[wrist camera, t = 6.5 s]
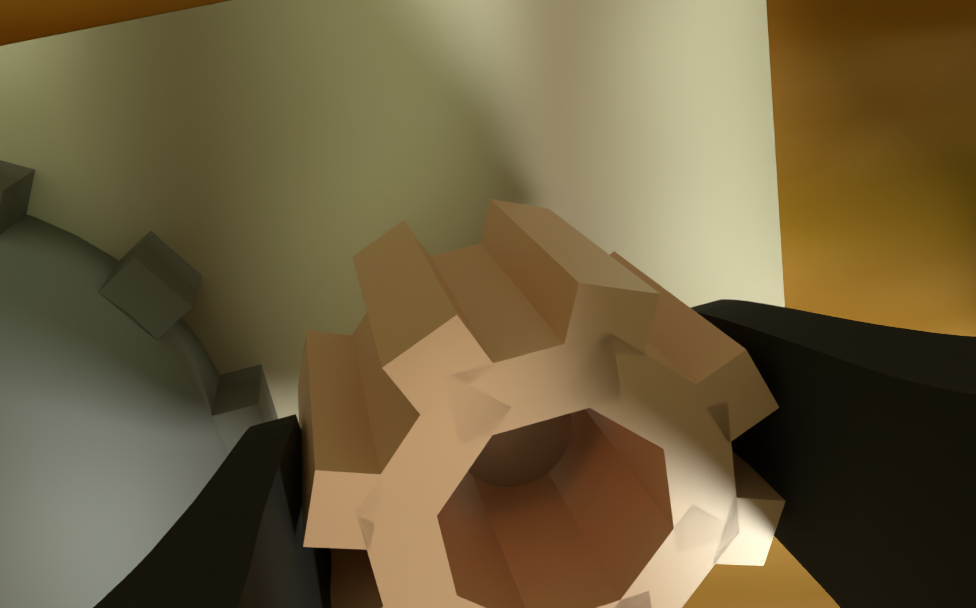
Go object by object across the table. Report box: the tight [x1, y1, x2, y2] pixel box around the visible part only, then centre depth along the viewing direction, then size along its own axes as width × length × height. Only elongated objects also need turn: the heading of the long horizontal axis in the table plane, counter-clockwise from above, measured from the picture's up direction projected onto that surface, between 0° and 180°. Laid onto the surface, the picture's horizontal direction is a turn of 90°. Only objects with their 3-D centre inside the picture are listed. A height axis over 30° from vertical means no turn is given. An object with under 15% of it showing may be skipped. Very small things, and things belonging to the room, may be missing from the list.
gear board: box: [0, 0, 785, 608], centre depth 13 cm, size 20×12×4 cm, turn 101°
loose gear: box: [298, 199, 785, 608], centre depth 11 cm, size 5×5×4 cm
